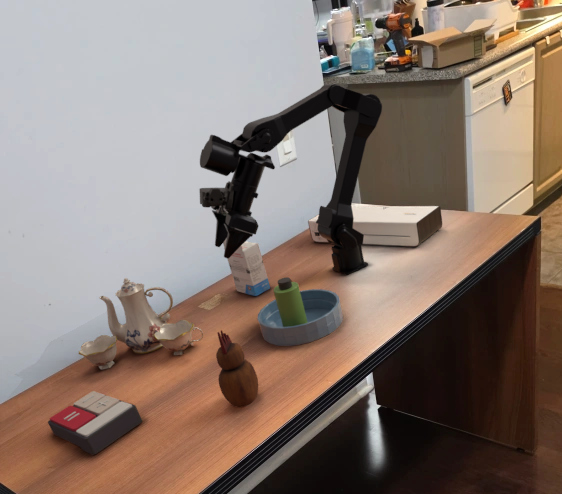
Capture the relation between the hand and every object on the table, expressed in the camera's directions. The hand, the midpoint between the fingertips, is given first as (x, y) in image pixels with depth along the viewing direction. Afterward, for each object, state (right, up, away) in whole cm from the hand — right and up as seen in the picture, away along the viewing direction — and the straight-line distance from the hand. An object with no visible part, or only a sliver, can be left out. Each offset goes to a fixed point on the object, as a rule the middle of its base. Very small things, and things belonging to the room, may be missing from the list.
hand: (221, 252), depth 144 cm
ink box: (+6, -6, +16) cm, 19 cm away
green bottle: (+17, -19, -11) cm, 28 cm away
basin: (+18, -17, -8) cm, 26 cm away
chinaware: (-16, -22, +1) cm, 27 cm away
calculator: (-21, -38, -23) cm, 49 cm away
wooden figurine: (+7, -33, -28) cm, 43 cm away
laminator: (+38, +9, +27) cm, 47 cm away
